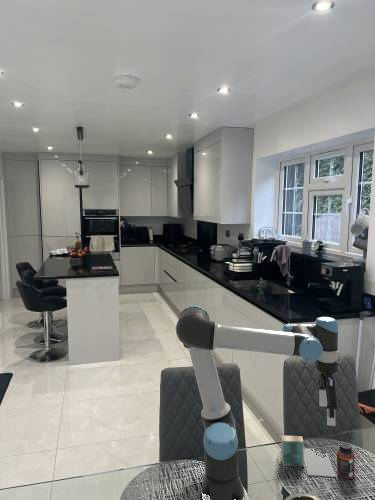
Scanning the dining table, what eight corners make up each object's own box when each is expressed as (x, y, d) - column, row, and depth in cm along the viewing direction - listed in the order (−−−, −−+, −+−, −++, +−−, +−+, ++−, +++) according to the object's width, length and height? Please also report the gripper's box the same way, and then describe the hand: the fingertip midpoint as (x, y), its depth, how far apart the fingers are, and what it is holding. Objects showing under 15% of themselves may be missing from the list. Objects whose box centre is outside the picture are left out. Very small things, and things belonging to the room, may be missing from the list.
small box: (282, 465, 141) (282, 440, 140) (281, 459, 144) (281, 435, 144) (304, 466, 140) (303, 441, 139) (302, 460, 143) (301, 436, 143)
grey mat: (307, 475, 135) (307, 474, 135) (300, 449, 150) (300, 448, 150) (335, 477, 133) (335, 476, 133) (325, 450, 149) (325, 449, 149)
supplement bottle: (356, 480, 131) (356, 451, 130) (339, 479, 132) (338, 449, 131) (352, 469, 137) (352, 441, 136) (335, 468, 138) (335, 439, 137)
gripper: (346, 374, 121) (346, 435, 122) (329, 348, 145) (330, 399, 147) (323, 373, 122) (323, 433, 123) (310, 347, 146) (310, 398, 148)
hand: (327, 415), depth 135 cm, fingers open, 13 cm apart
